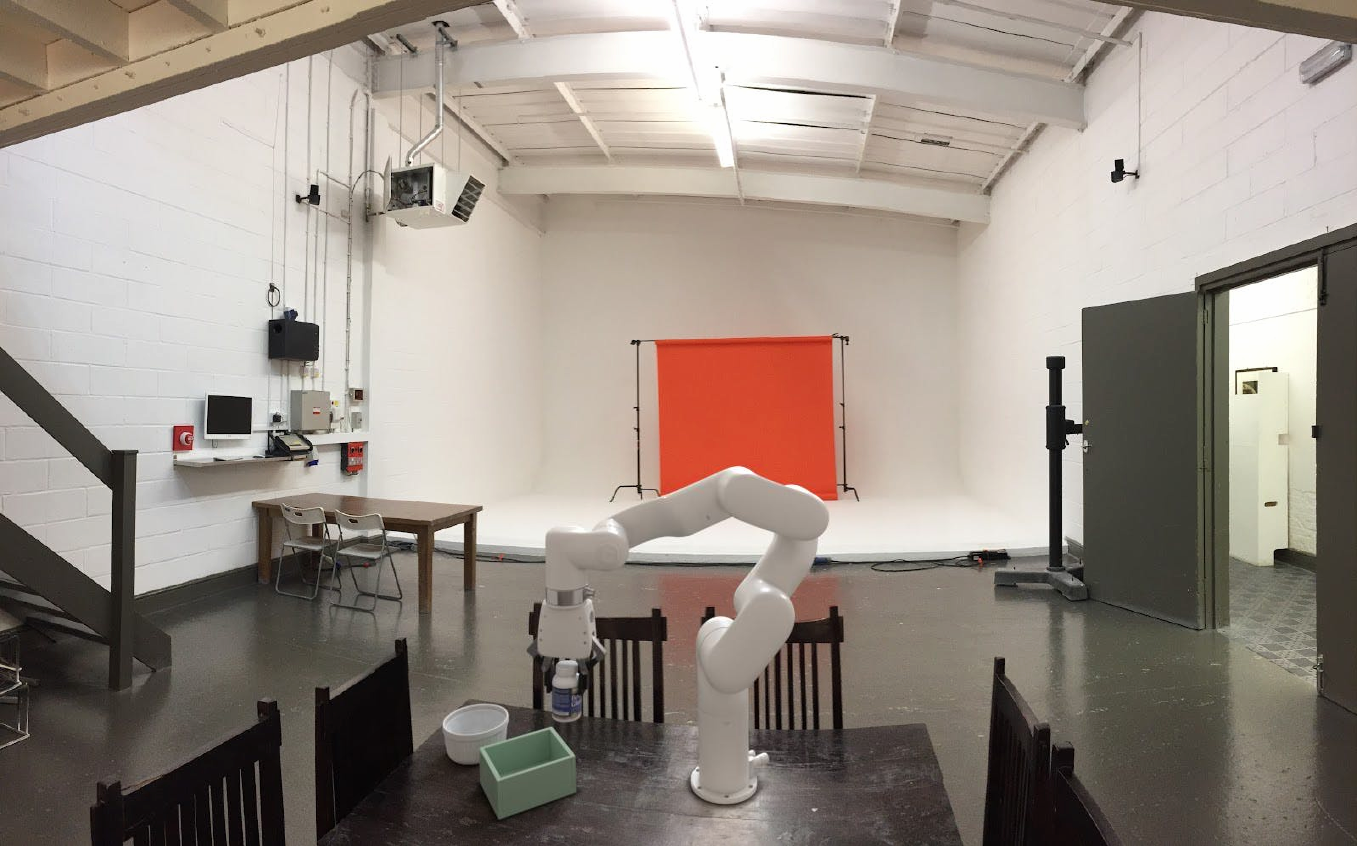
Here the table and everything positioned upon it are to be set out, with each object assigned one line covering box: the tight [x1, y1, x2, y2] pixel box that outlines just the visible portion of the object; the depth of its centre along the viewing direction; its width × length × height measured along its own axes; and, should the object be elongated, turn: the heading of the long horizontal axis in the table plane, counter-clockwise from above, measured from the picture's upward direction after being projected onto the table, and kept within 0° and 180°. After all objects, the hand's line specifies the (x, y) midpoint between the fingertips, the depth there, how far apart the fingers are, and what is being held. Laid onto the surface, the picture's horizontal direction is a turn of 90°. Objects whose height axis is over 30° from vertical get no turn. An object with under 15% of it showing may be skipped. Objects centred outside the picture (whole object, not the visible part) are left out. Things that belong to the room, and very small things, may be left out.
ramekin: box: [441, 703, 510, 766], centre depth 136 cm, size 13×13×7 cm
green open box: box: [479, 726, 577, 820], centre depth 123 cm, size 15×13×7 cm
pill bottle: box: [551, 659, 583, 723], centre depth 120 cm, size 5×5×10 cm
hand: (566, 690), depth 120 cm, fingers closed on pill bottle, 5 cm apart
